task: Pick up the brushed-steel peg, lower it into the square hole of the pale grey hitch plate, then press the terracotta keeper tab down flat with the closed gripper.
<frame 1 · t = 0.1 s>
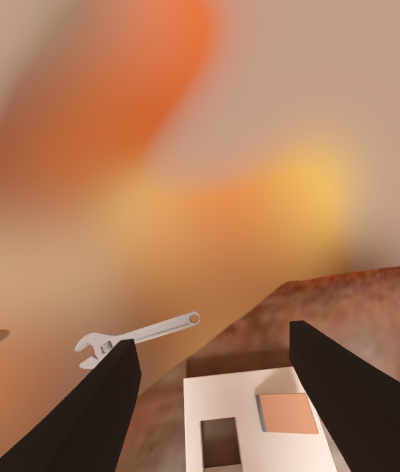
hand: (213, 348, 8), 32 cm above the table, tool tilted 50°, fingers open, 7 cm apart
adjustable wrench: (141, 339, 38), on the table
hitch plate: (251, 435, 29), on the table
keeper tab: (283, 412, 26), point 5 cm above the table, hinge at 30.6°, touching hitch plate
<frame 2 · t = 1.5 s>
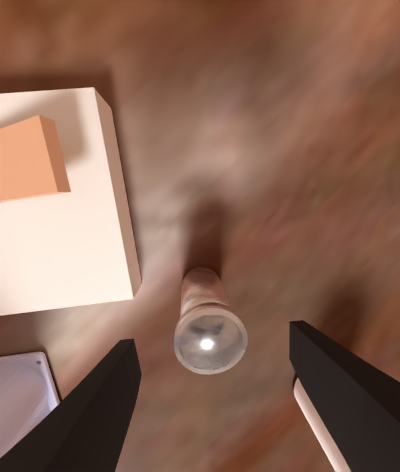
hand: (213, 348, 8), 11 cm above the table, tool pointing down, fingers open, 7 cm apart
can: (315, 381, 23), on the table
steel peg: (201, 284, 19), on the table
hitch plate: (16, 215, 17), on the table
keeper tab: (14, 166, 12), point 5 cm above the table, hinge at 22.0°
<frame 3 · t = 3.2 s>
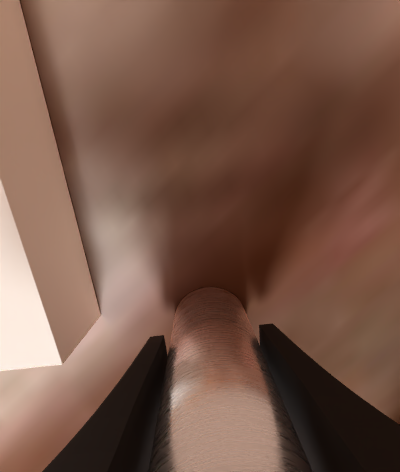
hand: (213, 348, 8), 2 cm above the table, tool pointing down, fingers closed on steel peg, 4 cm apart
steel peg: (210, 319, 10), on the table, touching gripper
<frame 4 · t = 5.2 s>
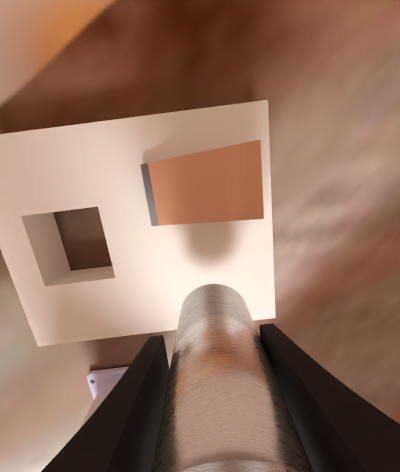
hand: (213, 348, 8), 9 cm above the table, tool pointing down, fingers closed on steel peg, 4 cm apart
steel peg: (214, 314, 11), point 7 cm above the table, touching gripper
hitch plate: (147, 231, 16), on the table
keeper tab: (197, 189, 11), point 5 cm above the table, hinge at 21.4°
when the fingers open (4 cm above the table, at t = 7.7 s): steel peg drops 1 cm, resting in hitch plate.
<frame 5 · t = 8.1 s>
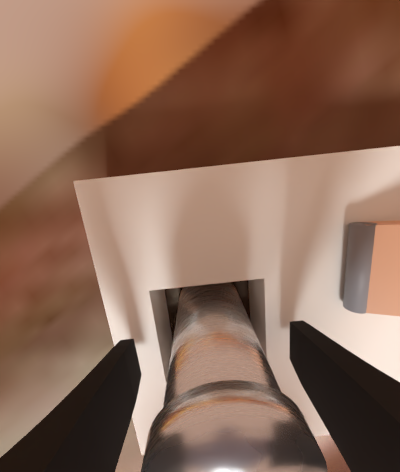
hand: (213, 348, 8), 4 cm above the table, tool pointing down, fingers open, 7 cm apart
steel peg: (209, 301, 12), resting in hitch plate
hitch plate: (282, 292, 12), on the table
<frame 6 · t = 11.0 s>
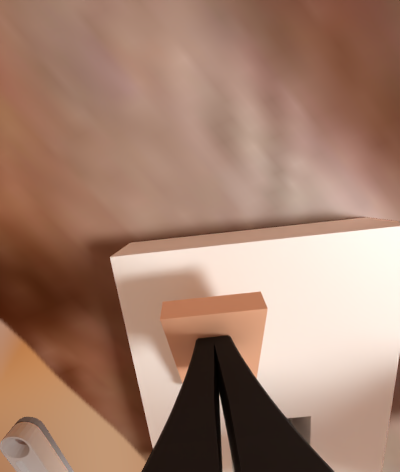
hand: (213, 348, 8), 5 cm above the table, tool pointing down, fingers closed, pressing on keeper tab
hitch plate: (254, 353, 15), on the table
keeper tab: (217, 354, 9), point 5 cm above the table, hinge at 19.6°, touching gripper
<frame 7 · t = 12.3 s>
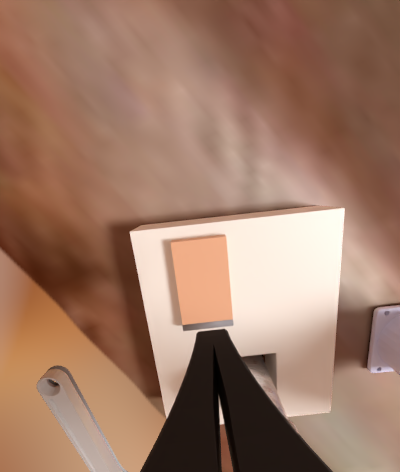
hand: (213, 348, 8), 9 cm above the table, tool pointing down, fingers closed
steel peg: (240, 352, 20), resting in hitch plate
adjustable wrench: (107, 442, 23), on the table
hitch plate: (236, 312, 19), on the table
keeper tab: (203, 285, 14), point 3 cm above the table, hinge at -0.9°, touching hitch plate
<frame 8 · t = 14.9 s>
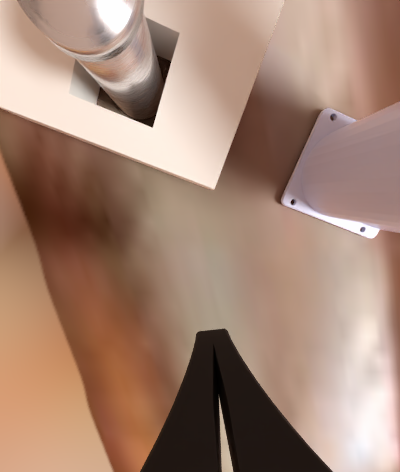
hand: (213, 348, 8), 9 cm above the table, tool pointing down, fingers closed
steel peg: (139, 90, 14), resting in hitch plate
hitch plate: (157, 16, 13), on the table
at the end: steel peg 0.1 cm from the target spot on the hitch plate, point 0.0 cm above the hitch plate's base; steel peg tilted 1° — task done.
